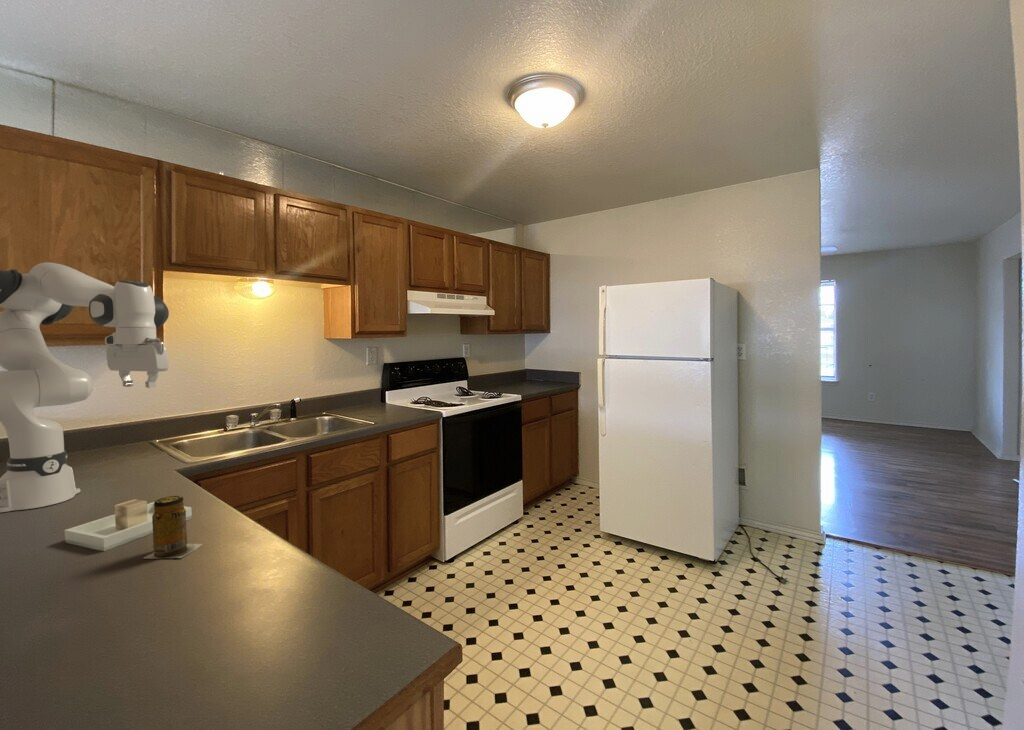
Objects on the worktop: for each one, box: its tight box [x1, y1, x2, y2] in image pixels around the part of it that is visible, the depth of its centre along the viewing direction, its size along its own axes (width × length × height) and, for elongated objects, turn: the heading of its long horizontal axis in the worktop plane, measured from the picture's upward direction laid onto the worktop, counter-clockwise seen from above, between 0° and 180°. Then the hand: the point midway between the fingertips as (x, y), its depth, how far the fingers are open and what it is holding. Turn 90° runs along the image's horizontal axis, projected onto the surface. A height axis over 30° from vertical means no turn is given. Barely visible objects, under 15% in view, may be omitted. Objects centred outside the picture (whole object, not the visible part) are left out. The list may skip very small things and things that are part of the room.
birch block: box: [114, 498, 148, 530], centre depth 115 cm, size 4×4×6 cm
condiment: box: [143, 495, 204, 560], centre depth 103 cm, size 7×8×12 cm
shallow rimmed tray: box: [64, 501, 193, 552], centre depth 115 cm, size 14×20×3 cm
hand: (139, 387), depth 130 cm, fingers open, 8 cm apart
